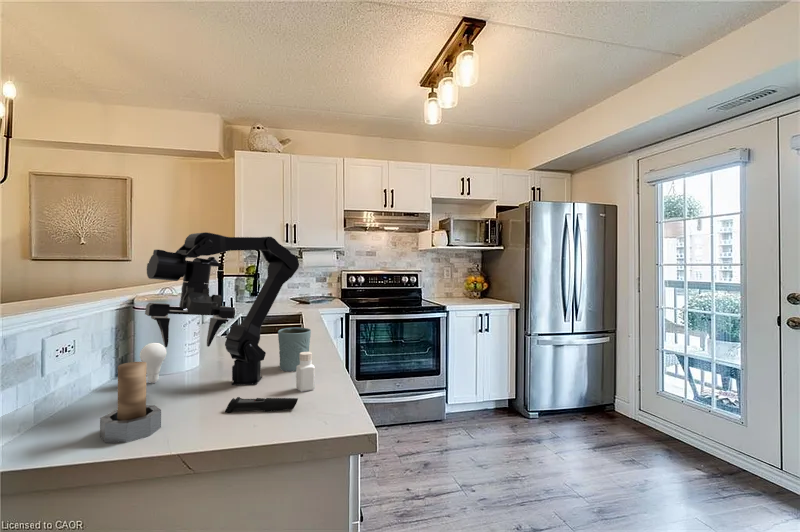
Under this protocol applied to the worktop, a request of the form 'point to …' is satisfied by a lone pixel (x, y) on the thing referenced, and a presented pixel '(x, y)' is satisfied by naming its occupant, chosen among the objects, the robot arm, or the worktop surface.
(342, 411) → the worktop surface
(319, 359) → the worktop surface
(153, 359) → the lightbulb
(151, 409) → the gray faceted open holder
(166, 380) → the worktop surface
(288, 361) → the teal plant pot
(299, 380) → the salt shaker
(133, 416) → the wooden peg
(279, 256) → the robot arm
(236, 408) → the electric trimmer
